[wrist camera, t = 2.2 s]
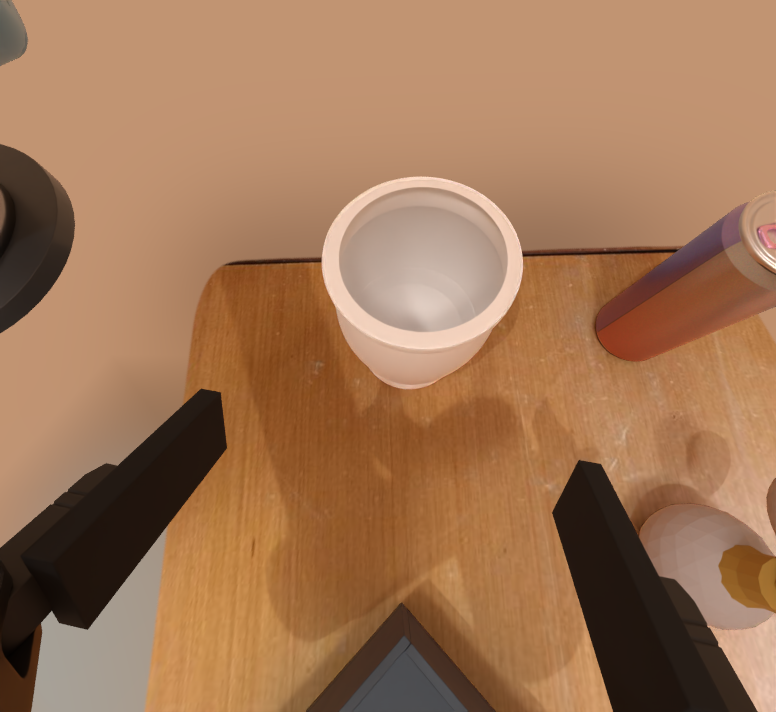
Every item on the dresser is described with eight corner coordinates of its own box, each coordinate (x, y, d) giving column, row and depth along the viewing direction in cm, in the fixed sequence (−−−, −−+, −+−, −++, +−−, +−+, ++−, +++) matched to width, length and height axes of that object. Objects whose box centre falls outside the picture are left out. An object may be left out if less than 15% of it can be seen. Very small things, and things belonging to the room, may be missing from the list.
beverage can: (585, 304, 34) (724, 189, 20) (648, 300, 35) (831, 182, 20) (600, 365, 33) (764, 287, 18) (666, 361, 33) (880, 279, 18)
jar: (360, 411, 32) (335, 366, 17) (343, 303, 35) (310, 188, 20) (479, 390, 32) (551, 329, 18) (453, 285, 35) (496, 160, 21)
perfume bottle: (632, 611, 27) (809, 716, 16) (600, 474, 30) (730, 480, 19) (731, 601, 27) (977, 699, 16) (689, 466, 30) (873, 467, 19)
